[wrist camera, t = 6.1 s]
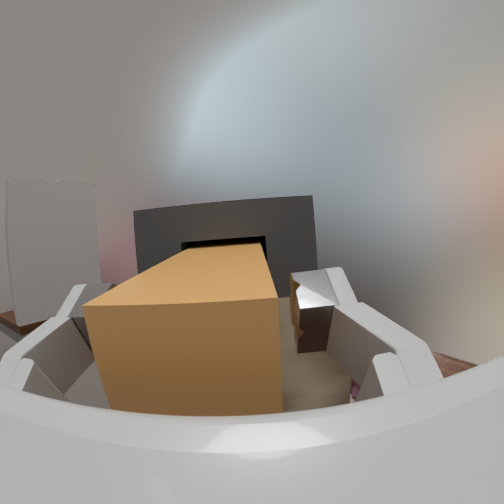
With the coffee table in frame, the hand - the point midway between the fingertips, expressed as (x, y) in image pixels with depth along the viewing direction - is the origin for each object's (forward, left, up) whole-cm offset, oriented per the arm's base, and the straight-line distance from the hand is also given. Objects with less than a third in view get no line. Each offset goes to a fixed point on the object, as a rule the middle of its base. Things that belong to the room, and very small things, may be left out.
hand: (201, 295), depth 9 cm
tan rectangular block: (0, +5, -2) cm, 5 cm away
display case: (-23, +18, -26) cm, 39 cm away
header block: (0, +10, -2) cm, 10 cm away
